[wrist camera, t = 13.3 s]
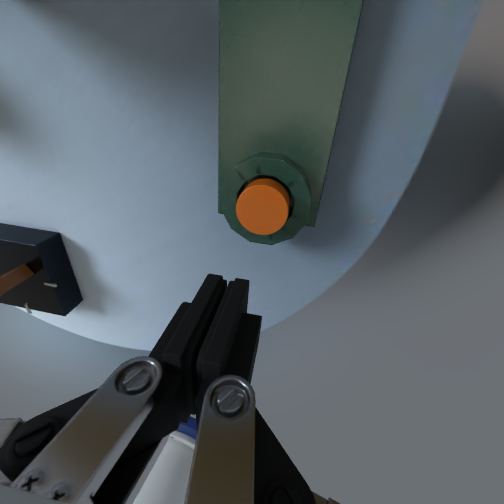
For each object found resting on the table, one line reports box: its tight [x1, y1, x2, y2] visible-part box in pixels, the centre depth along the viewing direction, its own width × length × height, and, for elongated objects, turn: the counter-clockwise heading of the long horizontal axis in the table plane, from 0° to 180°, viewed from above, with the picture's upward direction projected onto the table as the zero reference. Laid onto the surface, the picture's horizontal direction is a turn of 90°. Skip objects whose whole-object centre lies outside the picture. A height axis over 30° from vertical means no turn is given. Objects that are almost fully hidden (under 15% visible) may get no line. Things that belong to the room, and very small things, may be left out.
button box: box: [218, 0, 363, 245], centre depth 17 cm, size 19×8×4 cm, turn 176°
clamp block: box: [0, 223, 83, 316], centre depth 31 cm, size 11×11×3 cm
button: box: [236, 178, 290, 235], centre depth 18 cm, size 4×4×2 cm
